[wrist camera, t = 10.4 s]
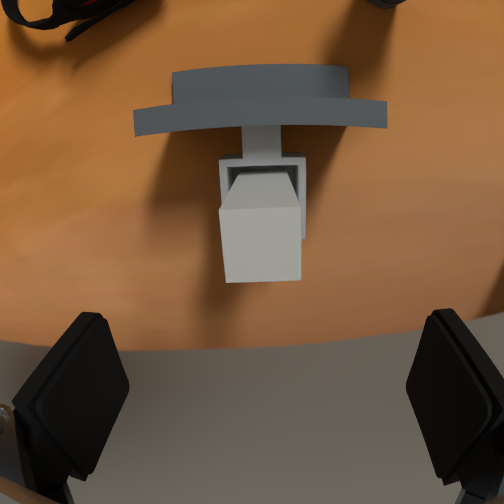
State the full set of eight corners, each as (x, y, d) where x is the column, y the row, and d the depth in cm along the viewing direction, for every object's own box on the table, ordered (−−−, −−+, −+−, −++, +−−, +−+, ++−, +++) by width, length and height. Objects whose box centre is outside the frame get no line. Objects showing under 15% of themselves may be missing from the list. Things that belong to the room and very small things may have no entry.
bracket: (345, 68, 28) (383, 43, 17) (345, 210, 34) (380, 251, 23) (175, 74, 29) (131, 53, 18) (185, 213, 36) (150, 256, 24)
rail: (285, 167, 28) (300, 206, 15) (286, 210, 30) (301, 280, 17) (240, 169, 28) (218, 210, 16) (243, 211, 30) (226, 282, 17)
